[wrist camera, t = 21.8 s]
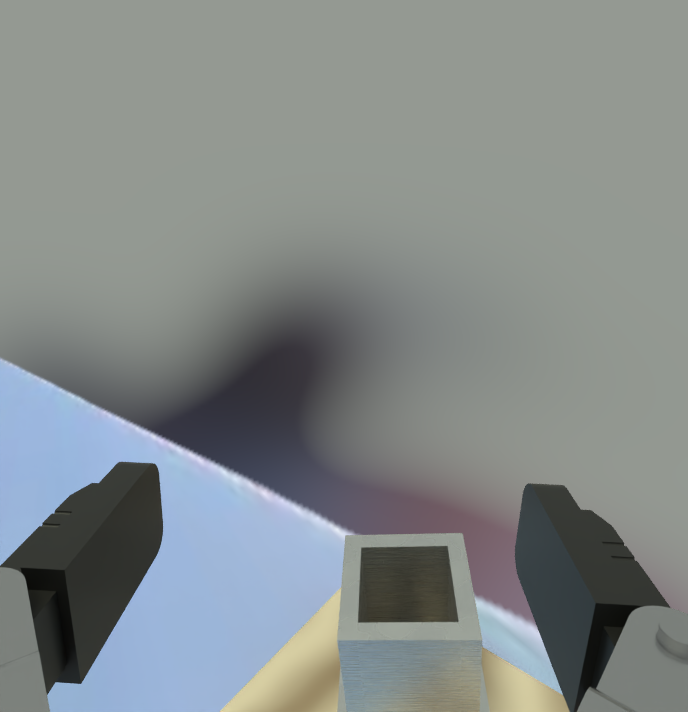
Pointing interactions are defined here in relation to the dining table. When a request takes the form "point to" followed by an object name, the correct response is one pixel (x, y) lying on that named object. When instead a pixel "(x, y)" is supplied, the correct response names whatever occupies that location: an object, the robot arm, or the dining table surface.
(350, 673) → the sleeve
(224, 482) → the dining table surface
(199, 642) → the dining table surface
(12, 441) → the dining table surface
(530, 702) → the base plate
